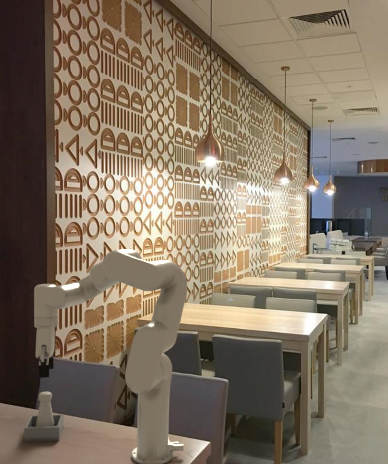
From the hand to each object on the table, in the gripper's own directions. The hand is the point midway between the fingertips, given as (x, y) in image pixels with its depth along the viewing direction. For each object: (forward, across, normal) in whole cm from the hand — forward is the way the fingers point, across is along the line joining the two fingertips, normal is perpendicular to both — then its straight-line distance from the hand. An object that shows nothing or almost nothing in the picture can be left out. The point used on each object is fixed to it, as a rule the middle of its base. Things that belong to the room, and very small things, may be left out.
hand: (46, 372), depth 169 cm
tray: (+21, 0, -1) cm, 21 cm away
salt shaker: (+20, 0, -1) cm, 20 cm away
